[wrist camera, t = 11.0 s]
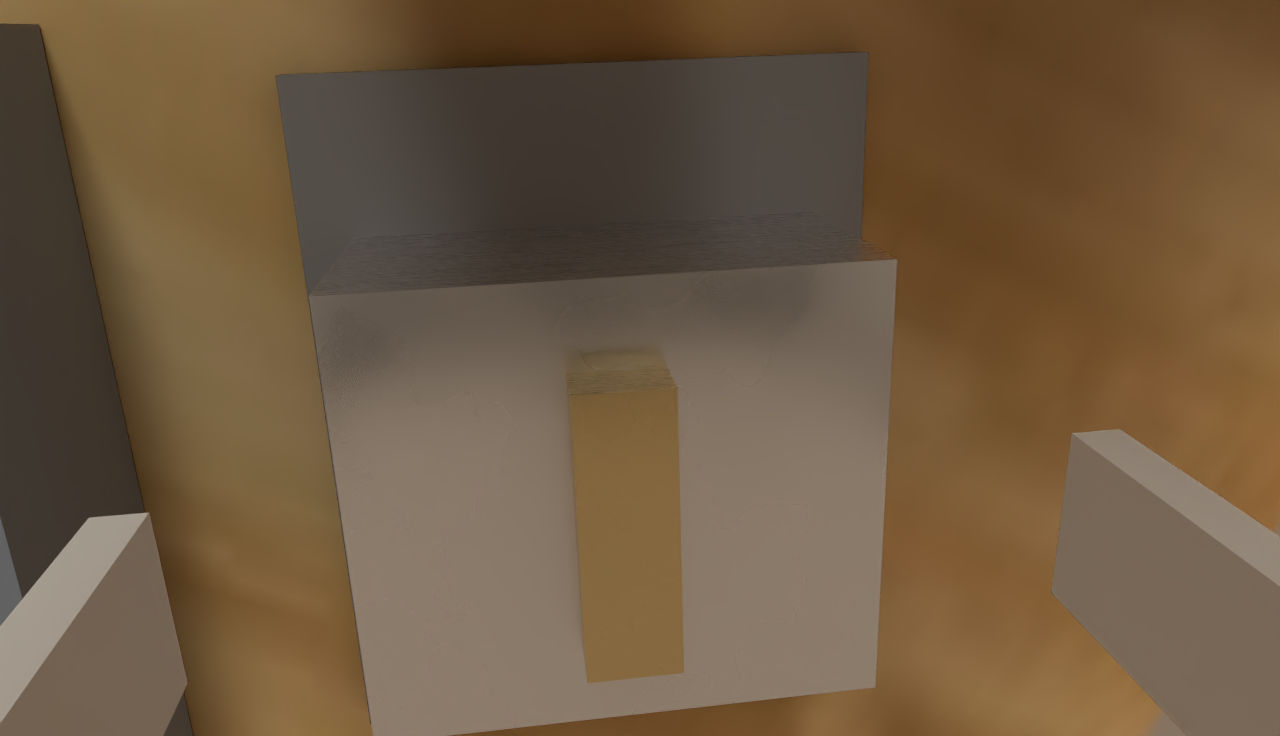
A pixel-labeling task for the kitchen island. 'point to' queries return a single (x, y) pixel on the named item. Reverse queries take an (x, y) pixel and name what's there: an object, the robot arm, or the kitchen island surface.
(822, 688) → the lever cap
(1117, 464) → the robot arm
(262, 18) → the kitchen island surface
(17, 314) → the block plane
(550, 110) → the rubber mat
